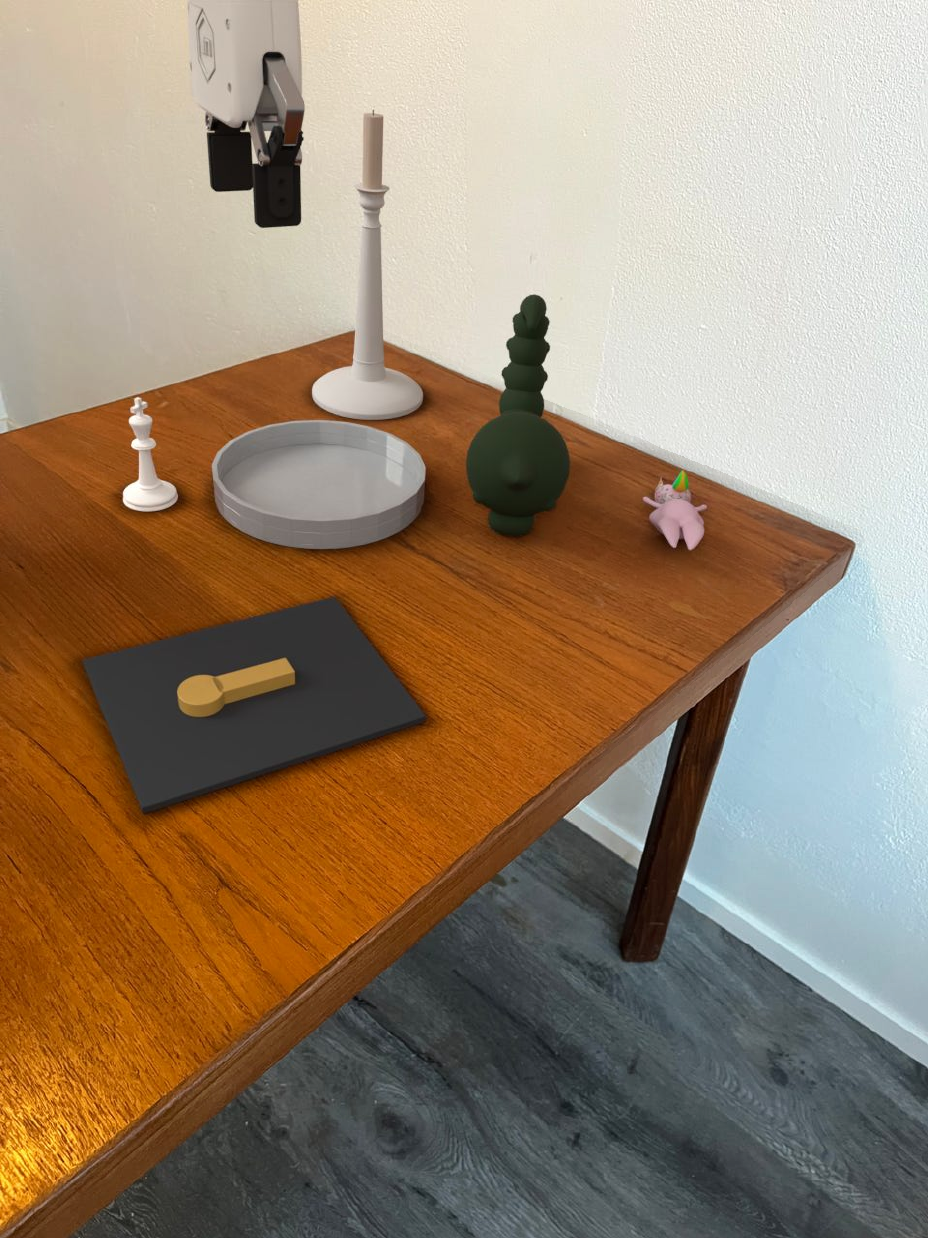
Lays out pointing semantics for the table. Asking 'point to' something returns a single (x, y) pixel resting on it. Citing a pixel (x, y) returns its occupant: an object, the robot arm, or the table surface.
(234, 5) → the robot arm
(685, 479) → the pink stuffed animal
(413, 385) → the candlestick
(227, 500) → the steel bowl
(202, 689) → the brass key
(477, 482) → the toy figurine
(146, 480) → the chess piece
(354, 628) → the felt mat
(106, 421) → the table surface
